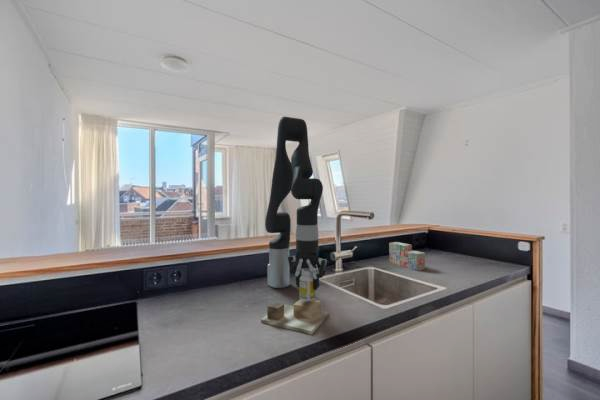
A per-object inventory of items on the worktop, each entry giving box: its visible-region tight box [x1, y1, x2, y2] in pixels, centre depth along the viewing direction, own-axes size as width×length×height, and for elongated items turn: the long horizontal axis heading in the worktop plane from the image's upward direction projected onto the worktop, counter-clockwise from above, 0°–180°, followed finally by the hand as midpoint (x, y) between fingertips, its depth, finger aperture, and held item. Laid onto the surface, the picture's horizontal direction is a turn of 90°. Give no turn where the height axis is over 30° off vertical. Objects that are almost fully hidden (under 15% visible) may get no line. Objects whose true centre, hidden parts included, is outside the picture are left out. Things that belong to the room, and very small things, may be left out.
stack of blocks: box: [388, 241, 426, 272], centre depth 161 cm, size 21×6×12 cm, turn 24°
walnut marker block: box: [266, 301, 285, 321], centre depth 92 cm, size 4×4×4 cm
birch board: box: [260, 303, 330, 335], centre depth 92 cm, size 18×14×1 cm
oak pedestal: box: [292, 298, 322, 320], centre depth 94 cm, size 7×7×4 cm
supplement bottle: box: [298, 268, 316, 301], centre depth 94 cm, size 5×5×10 cm
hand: (307, 287), depth 94 cm, fingers closed on supplement bottle, 5 cm apart
